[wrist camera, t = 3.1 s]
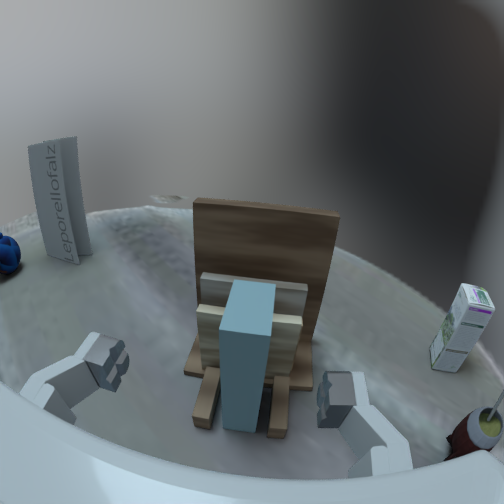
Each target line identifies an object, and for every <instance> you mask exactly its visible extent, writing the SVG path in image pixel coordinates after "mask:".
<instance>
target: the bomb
mask: <svg viewBox="0 0 504 504" xmlns="http://www.w3.org/2000/svg"><path fill="white" fill-rule="evenodd" d="M20 259H21V252H20V248H19V245H18V243H17V242H16V241H15V240H14V239H13V238H11V237H9V236H3V235H2V233H1V232H0V273H1V274H9V273H11V272H13V271H14V270H15V269H16V268H17V267H18V265H19V262H20Z"/></svg>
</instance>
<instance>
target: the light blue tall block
mask: <svg viewBox="0 0 504 504" xmlns="http://www.w3.org/2000/svg"><path fill="white" fill-rule="evenodd" d="M275 288H276V284H270V283H261V282H252V281H244V280H235V279H234V282H233V285H232V288H231V291H230V295H229V298H228V301H227V304H226V308H225V311H224V314H223V317H222V321H221V324H220V327H219V354H220V380H221V402H222V421H223V428H224V429H231V430H237V431H245V432H253V433H255V431H256V425H257V420H258V414H259V408H260V402H261V396H262V390H263V384H264V378H265V371H266V365H267V358H268V352H269V345H270V339H271V330H272V320H273V309H274V299H275Z"/></svg>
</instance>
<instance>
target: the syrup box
mask: <svg viewBox="0 0 504 504" xmlns="http://www.w3.org/2000/svg"><path fill="white" fill-rule="evenodd" d="M494 310H495V308H494V305H493V303H492V301H491V299H490V297H489V295H488V293H487V291H486V290H485V289H484V288H480V287H478V286H474V285H469V284H463V283H462V284H461V286H460V288H459V291H458V293H457V295H456V297H455V300H454V302H453V304H452V306H451V308H450V310H449V312H448V314H447V316H446V318H445V320H444V322H443V324H442V326H441V327H440V329H439V331H438V333H437V335H436V337H435V339H434V340H433V342H432V344H431V346H430V355H431V366H432V369H435V370H440V371H446V372H454V373H456V372H457V370H458V369H459V368H460V366H461V365H462V363H463V362H464V360H465V359H466V357H467V356H468V354H469V353H470V351H471V350H472V348H473V347H474V345H475V343H476V342H477V340H478V339H479V337H480V335H481V333H482V332H483V330H484V329H485V327H486V325H487V323H488V322H489V320H490V318H491V316H492V314H493V312H494Z"/></svg>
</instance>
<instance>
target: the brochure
mask: <svg viewBox="0 0 504 504" xmlns="http://www.w3.org/2000/svg"><path fill="white" fill-rule="evenodd" d="M28 154H29V164H30V172H31V180H32V186H33V192H34V198H35V204H36V209H37V214H38V219H39V223H40V228H41V232H42V236H43V240H44V244H45V248H46V251H47V255H49V256H52V257H55V258H58V259H62V260H65V261H68V262H72V263H75V264H78V265H80V262H79V258H78V255H93V253H92V248H91V244H90V239H89V234H88V228H87V223H86V217H85V212H84V204H83V197H82V190H81V182H80V173H79V162H78V149H77V137H76V136H74V137H67V138H61V139H55V140H49V141H43V143H39V144H34V145H30V146H28Z"/></svg>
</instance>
